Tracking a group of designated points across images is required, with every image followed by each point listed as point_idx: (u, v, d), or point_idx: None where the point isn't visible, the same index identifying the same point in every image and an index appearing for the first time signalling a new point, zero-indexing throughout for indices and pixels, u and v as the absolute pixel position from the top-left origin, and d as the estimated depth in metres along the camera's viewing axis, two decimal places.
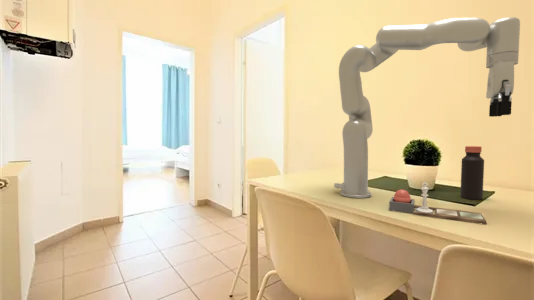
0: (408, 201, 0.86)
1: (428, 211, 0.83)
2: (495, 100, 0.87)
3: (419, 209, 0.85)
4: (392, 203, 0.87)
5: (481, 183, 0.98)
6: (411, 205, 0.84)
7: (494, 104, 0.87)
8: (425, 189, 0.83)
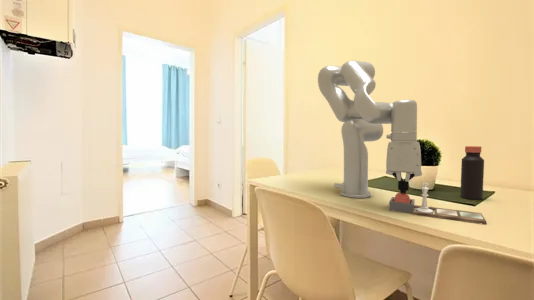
0: None
1: (428, 211, 0.83)
2: (400, 172, 0.88)
3: (419, 209, 0.85)
4: (392, 203, 0.87)
5: (481, 183, 0.98)
6: (411, 205, 0.84)
7: None
8: (425, 189, 0.83)
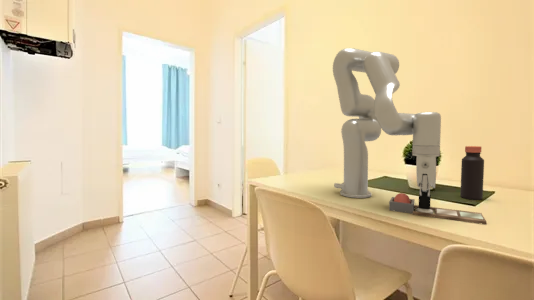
0: None
1: (428, 211, 0.83)
2: None
3: (419, 209, 0.85)
4: (392, 203, 0.87)
5: (481, 183, 0.98)
6: (411, 205, 0.84)
7: None
8: None
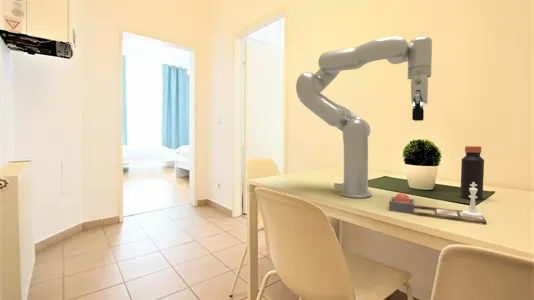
0: None
1: (478, 214, 0.76)
2: None
3: (467, 212, 0.78)
4: (392, 203, 0.87)
5: (481, 183, 0.98)
6: (411, 205, 0.84)
7: None
8: (474, 190, 0.77)
